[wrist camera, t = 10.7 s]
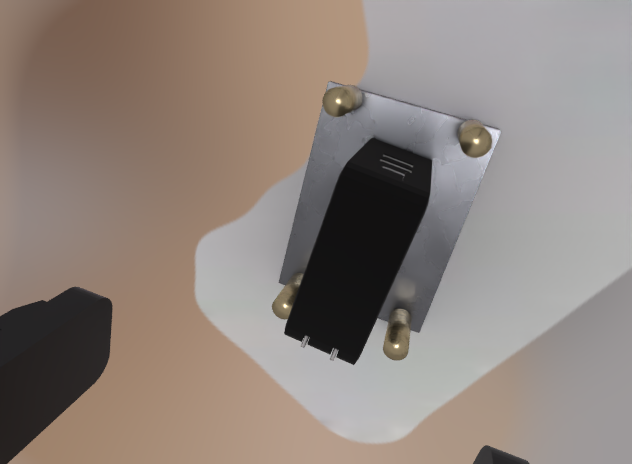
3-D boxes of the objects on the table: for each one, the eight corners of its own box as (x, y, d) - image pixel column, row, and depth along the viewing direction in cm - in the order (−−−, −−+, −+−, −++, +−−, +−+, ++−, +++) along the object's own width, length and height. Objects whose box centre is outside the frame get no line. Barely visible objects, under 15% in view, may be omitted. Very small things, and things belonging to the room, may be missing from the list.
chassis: (332, 78, 29) (312, 79, 25) (500, 125, 28) (512, 136, 23) (282, 279, 35) (259, 310, 31) (418, 327, 34) (415, 368, 29)
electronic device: (434, 158, 28) (432, 199, 19) (377, 287, 32) (353, 372, 23) (372, 134, 29) (341, 164, 20) (323, 265, 33) (279, 340, 24)
